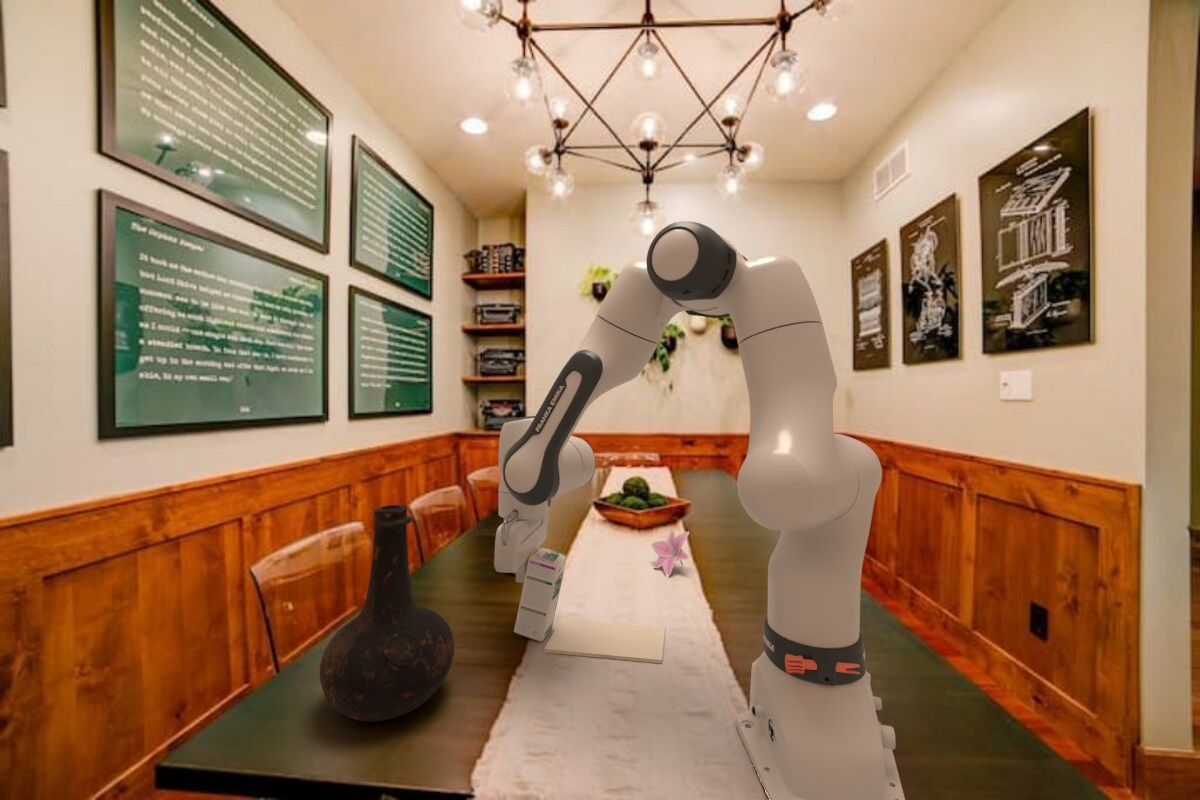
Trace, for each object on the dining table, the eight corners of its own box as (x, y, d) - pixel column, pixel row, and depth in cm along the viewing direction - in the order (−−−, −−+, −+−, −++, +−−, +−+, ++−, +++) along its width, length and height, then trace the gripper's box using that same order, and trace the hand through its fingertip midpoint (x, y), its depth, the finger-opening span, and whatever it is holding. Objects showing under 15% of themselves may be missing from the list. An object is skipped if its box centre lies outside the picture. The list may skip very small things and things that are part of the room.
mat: (662, 663, 84) (662, 660, 84) (544, 652, 88) (544, 648, 88) (665, 629, 96) (665, 626, 96) (561, 621, 100) (561, 617, 100)
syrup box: (542, 643, 91) (560, 565, 90) (511, 632, 92) (529, 555, 91) (552, 628, 97) (569, 554, 96) (522, 618, 98) (539, 545, 97)
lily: (651, 564, 135) (639, 536, 132) (692, 546, 136) (681, 518, 132) (663, 595, 124) (651, 565, 121) (708, 576, 124) (697, 546, 121)
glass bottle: (325, 762, 62) (323, 531, 61) (315, 689, 77) (314, 502, 76) (470, 713, 71) (470, 512, 71) (436, 656, 86) (436, 490, 86)
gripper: (521, 519, 83) (521, 604, 84) (553, 494, 103) (553, 562, 104) (484, 518, 84) (484, 601, 85) (523, 493, 104) (523, 560, 105)
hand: (523, 579), depth 94 cm, fingers closed
